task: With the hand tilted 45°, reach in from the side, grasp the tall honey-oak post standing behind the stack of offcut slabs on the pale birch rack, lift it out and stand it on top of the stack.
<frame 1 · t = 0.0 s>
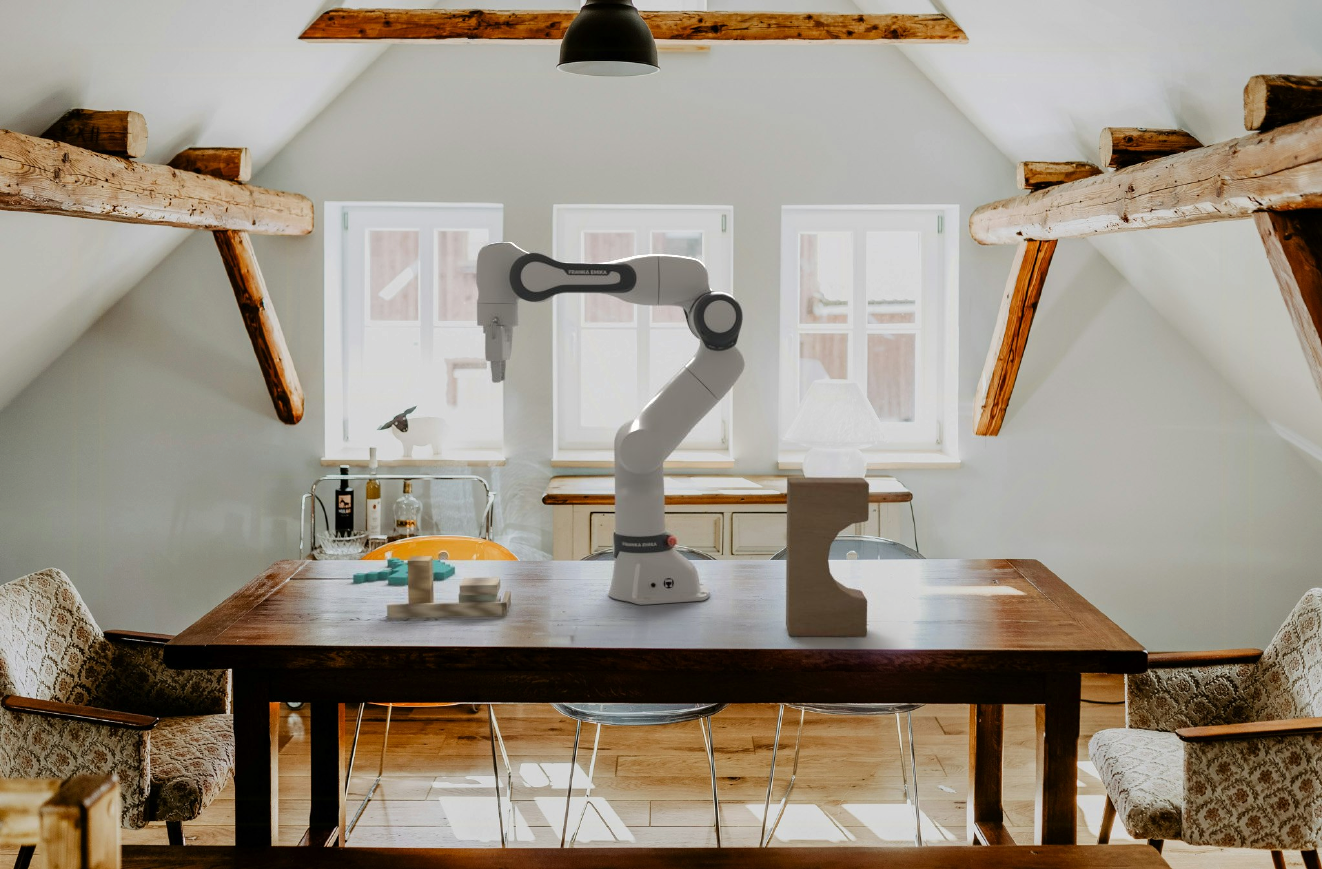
hand: (498, 381, 228), 48 cm above the table, tool pointing down, fingers open, 8 cm apart
oak post: (421, 610, 216), point 1 cm above the table, touching rack
offcut stack: (479, 609, 217), resting on rack
rack: (450, 615, 217), on the table
decorative block: (825, 632, 204), on the table
alien figure: (411, 577, 255), on the table
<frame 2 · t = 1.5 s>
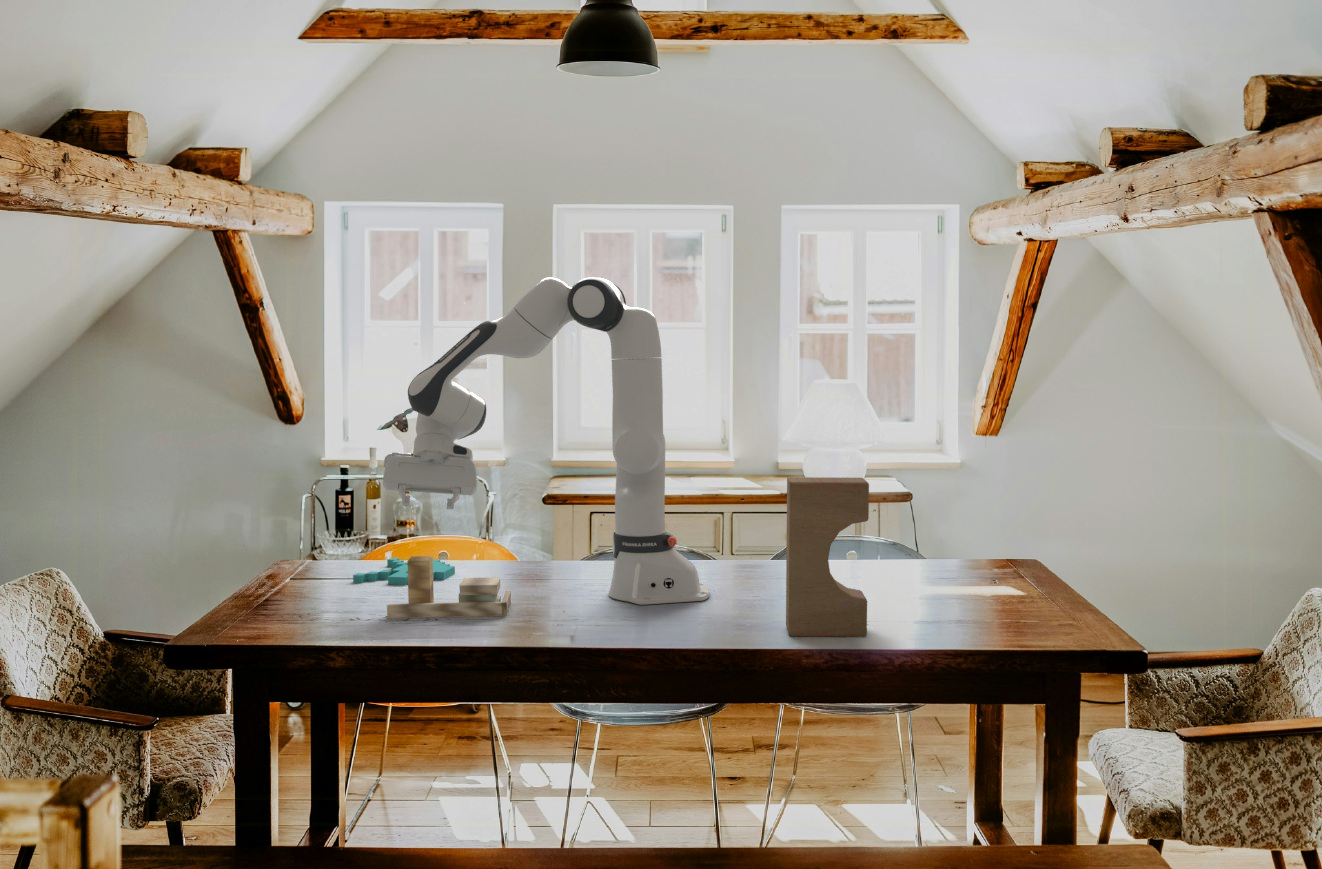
hand: (428, 506, 226), 21 cm above the table, tool tilted 45°, fingers open, 8 cm apart
nothing on the table moved.
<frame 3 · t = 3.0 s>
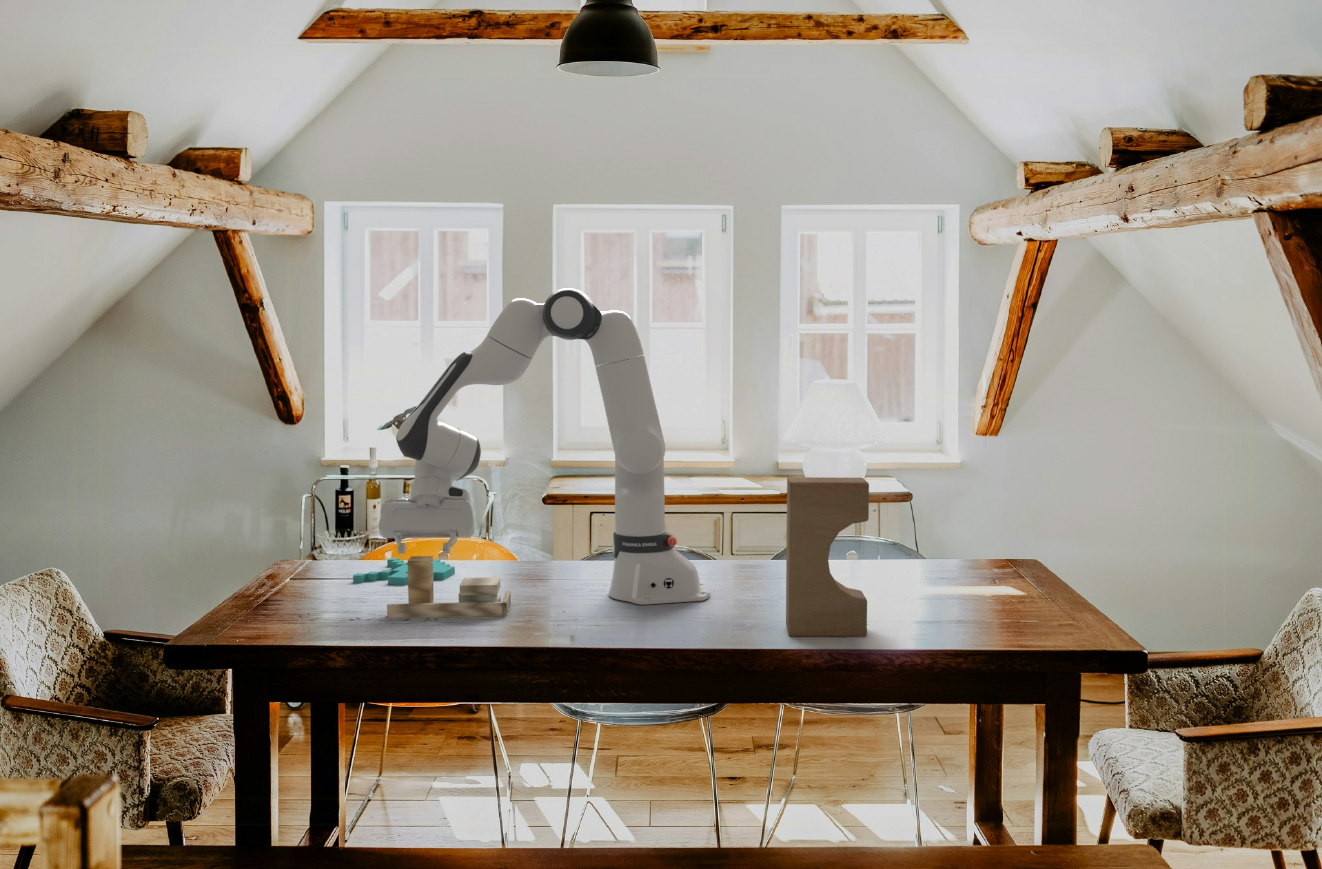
hand: (423, 552, 221), 12 cm above the table, tool tilted 45°, fingers open, 8 cm apart
nothing on the table moved.
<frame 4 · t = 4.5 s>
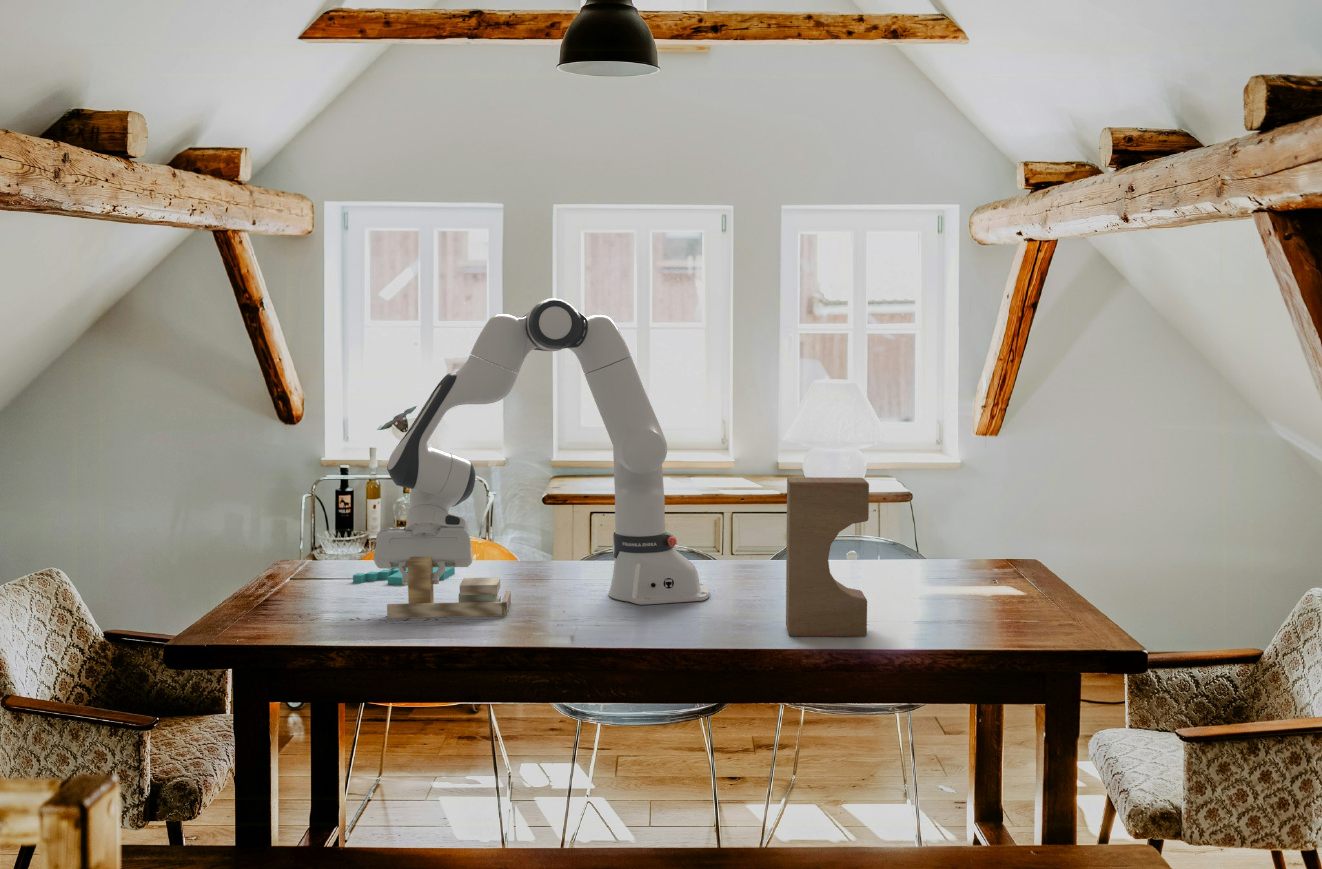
hand: (420, 583, 215), 7 cm above the table, tool tilted 45°, fingers closed on oak post, 4 cm apart
oak post: (421, 610, 216), point 1 cm above the table, touching gripper, rack
everything else where it was.
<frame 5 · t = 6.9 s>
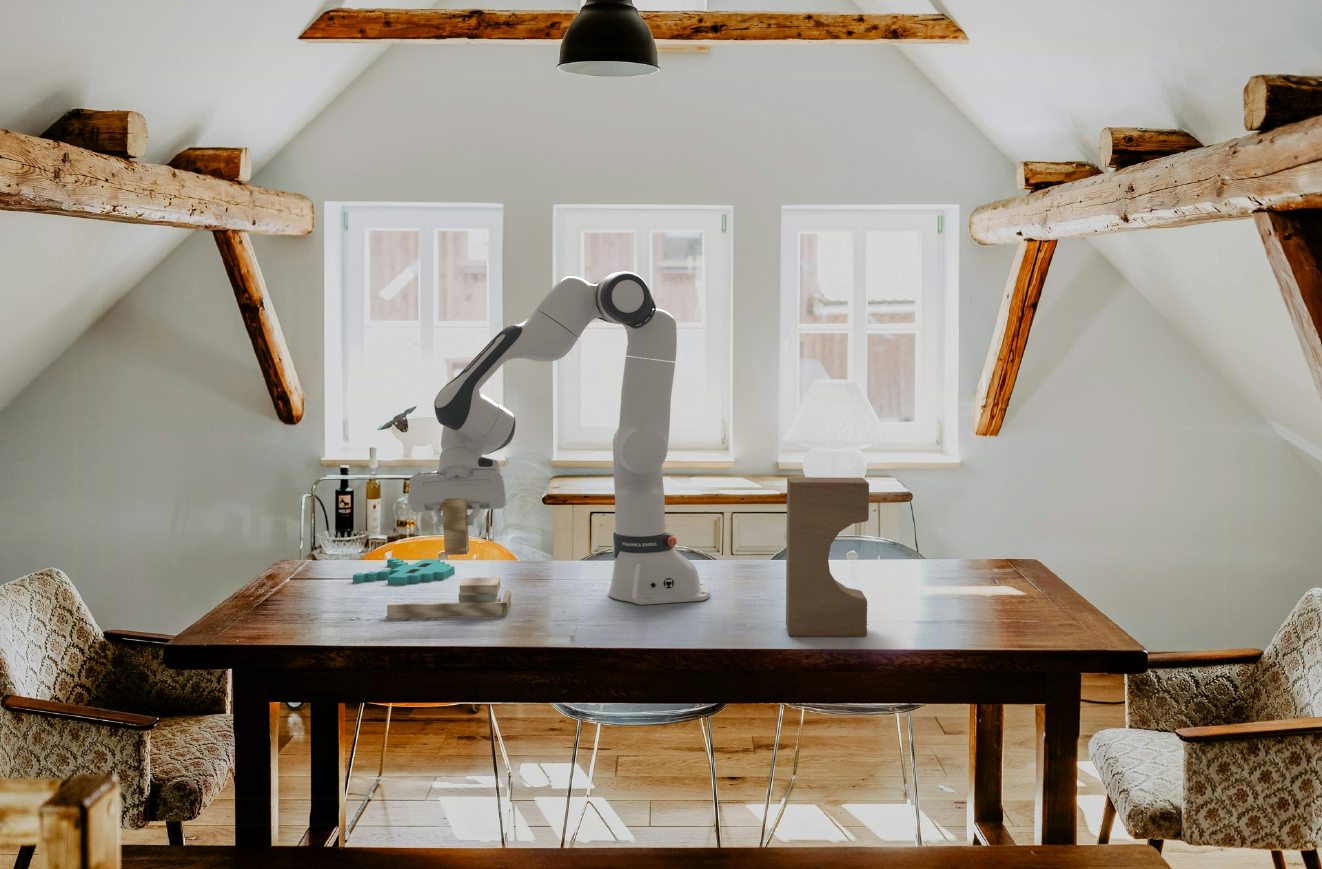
hand: (455, 524, 214), 19 cm above the table, tool tilted 45°, fingers closed on oak post, 4 cm apart
oak post: (457, 552, 216), point 13 cm above the table, touching gripper
everything else where it was.
when the fingers open (15 cm above the table, at t = 9.0 s): oak post drops 1 cm, resting on offcut stack.
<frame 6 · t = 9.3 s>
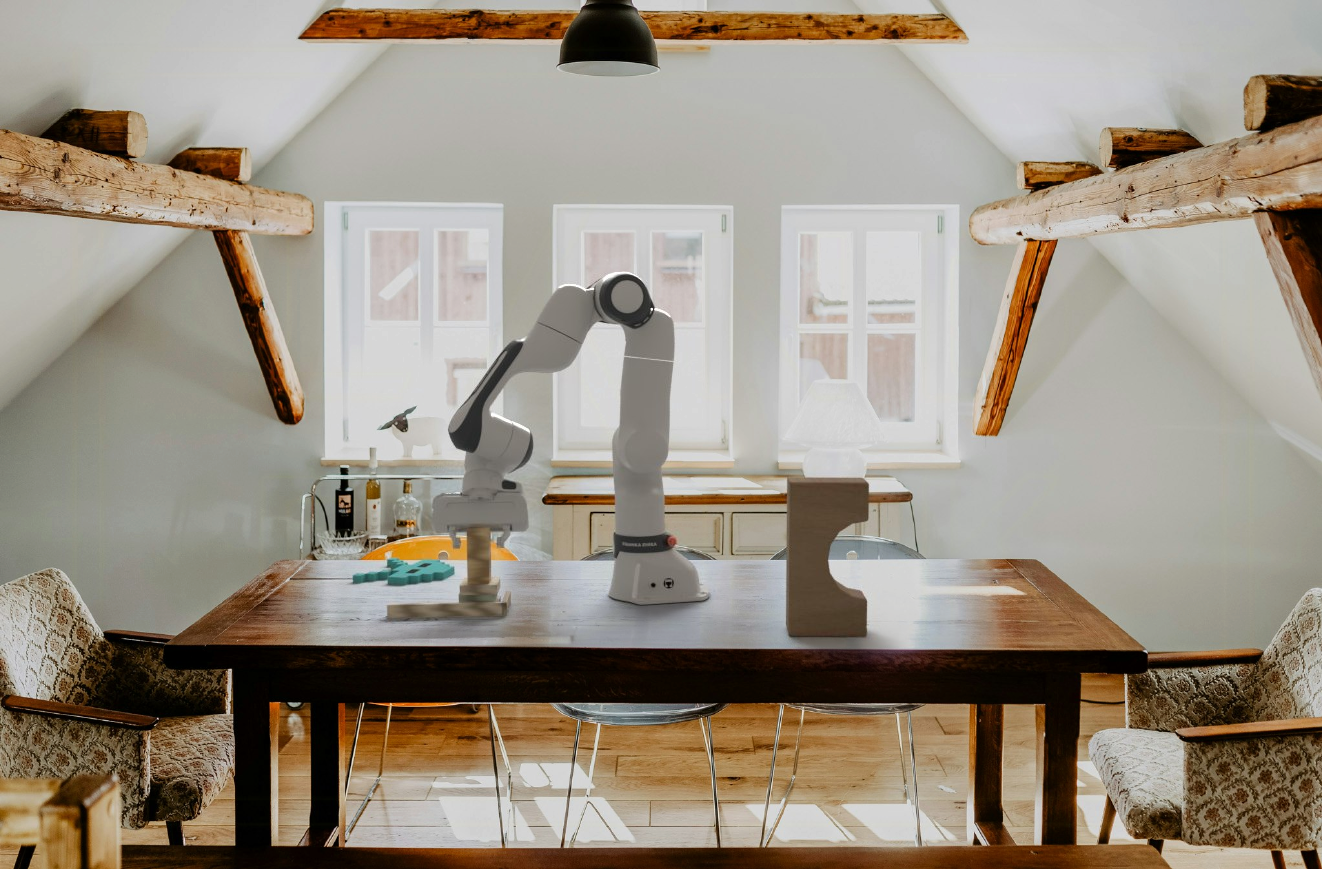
hand: (478, 546, 215), 15 cm above the table, tool tilted 45°, fingers open, 8 cm apart
oak post: (479, 581, 216), point 7 cm above the table, touching offcut stack
everything else where it was.
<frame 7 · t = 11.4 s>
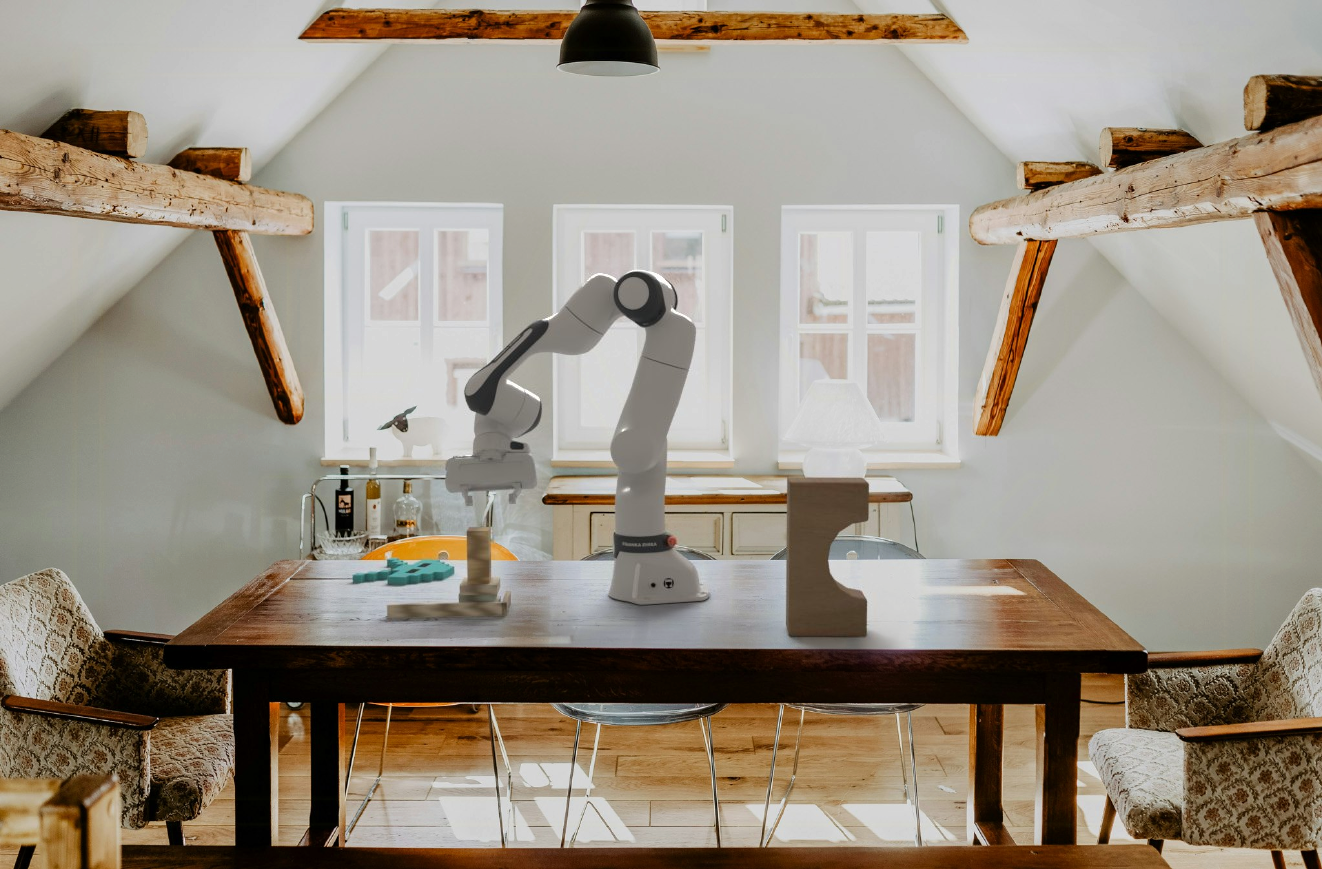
hand: (490, 503, 229), 21 cm above the table, tool tilted 45°, fingers open, 8 cm apart
nothing on the table moved.
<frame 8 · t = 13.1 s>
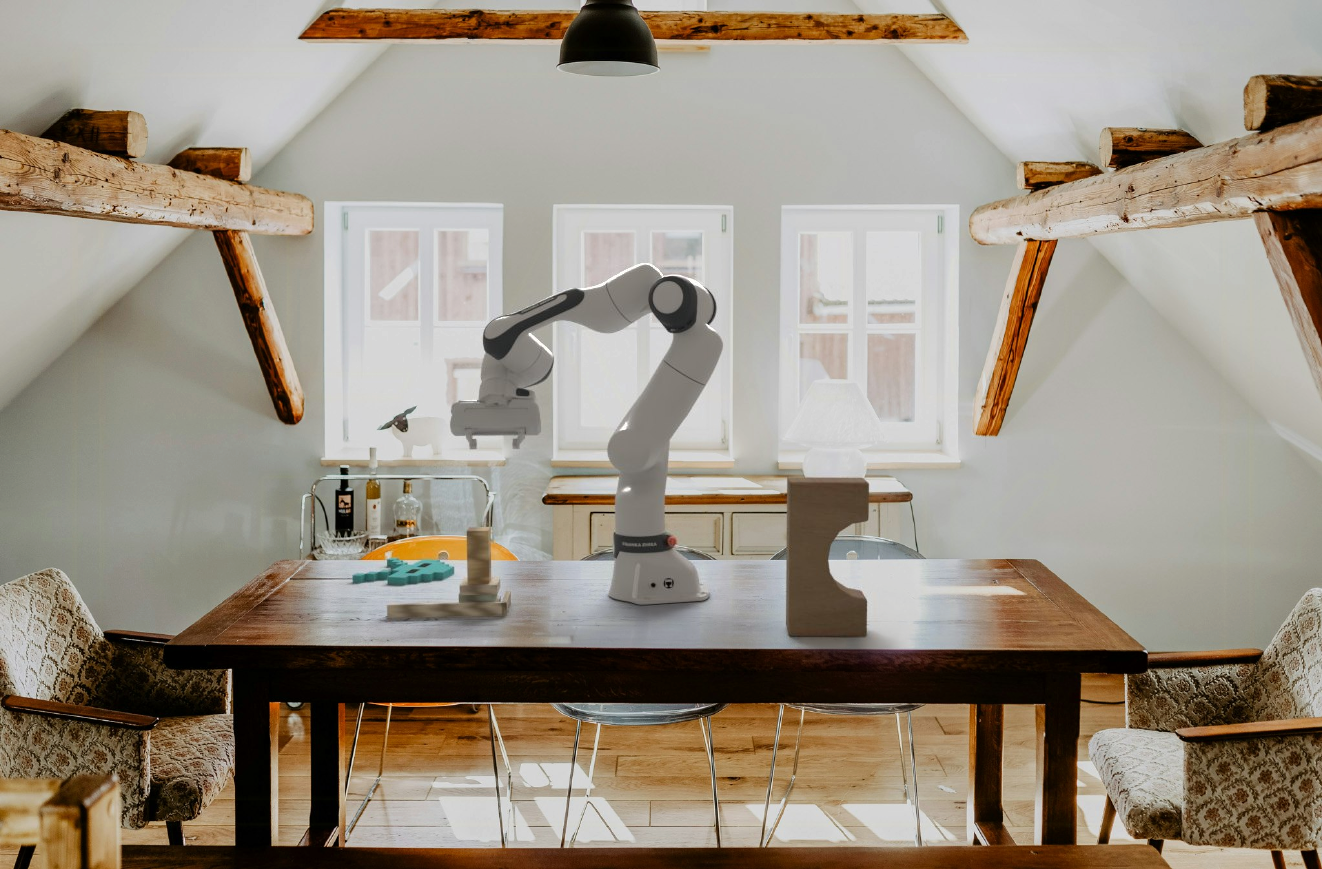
hand: (494, 447, 230), 33 cm above the table, tool tilted 45°, fingers open, 8 cm apart
nothing on the table moved.
at the end: oak post inside the target area on the offcut stack (0.1 cm from its centre), point 6.0 cm above the offcut stack's base; oak post tilted 0°; the gripper is holding nothing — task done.
